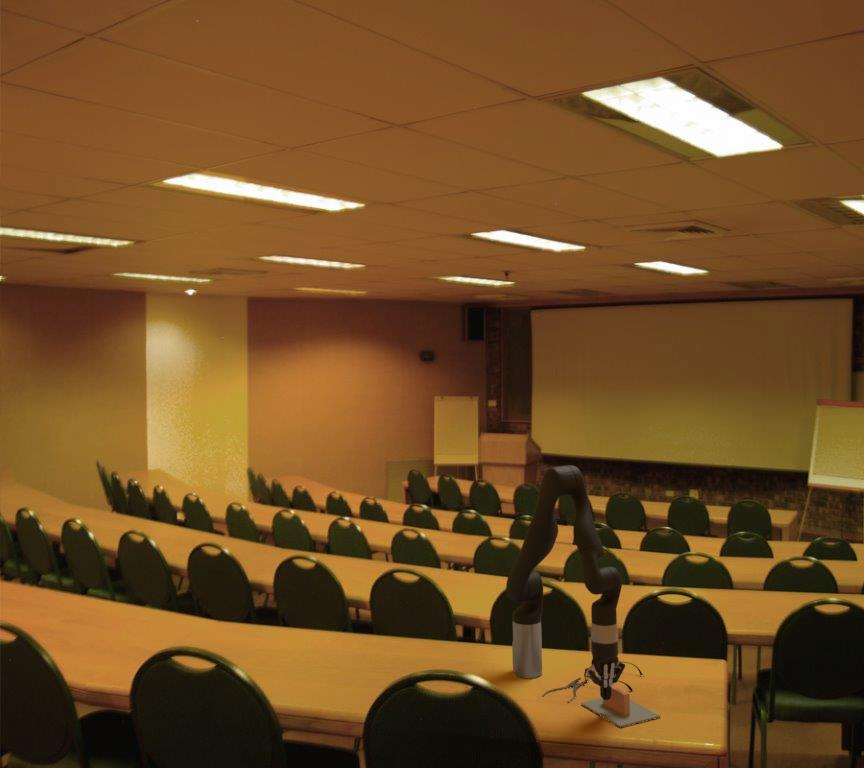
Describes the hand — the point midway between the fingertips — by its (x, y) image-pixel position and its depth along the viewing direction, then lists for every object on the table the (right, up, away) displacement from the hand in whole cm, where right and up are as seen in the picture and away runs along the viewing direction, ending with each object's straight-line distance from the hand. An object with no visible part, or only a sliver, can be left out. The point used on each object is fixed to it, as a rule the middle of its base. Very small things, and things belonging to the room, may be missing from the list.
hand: (605, 698), depth 230 cm
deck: (+3, -4, +2) cm, 6 cm away
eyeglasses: (+8, -5, +26) cm, 27 cm away
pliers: (-8, -5, +19) cm, 22 cm away
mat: (+4, -4, +2) cm, 7 cm away
